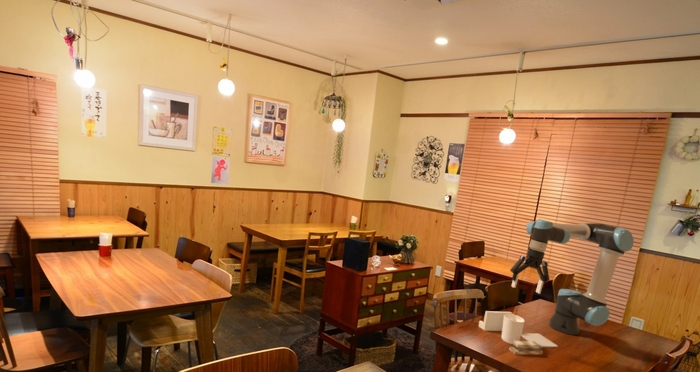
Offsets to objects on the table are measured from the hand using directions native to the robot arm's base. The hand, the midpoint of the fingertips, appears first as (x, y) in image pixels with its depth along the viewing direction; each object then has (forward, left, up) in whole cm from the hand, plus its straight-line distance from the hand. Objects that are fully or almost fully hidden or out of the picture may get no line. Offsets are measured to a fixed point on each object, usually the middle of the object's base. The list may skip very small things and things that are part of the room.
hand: (525, 290), depth 186 cm
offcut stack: (+4, +11, -27) cm, 29 cm away
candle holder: (+4, 0, -27) cm, 27 cm away
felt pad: (-13, 0, -27) cm, 30 cm away
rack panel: (+4, -13, -27) cm, 30 cm away
